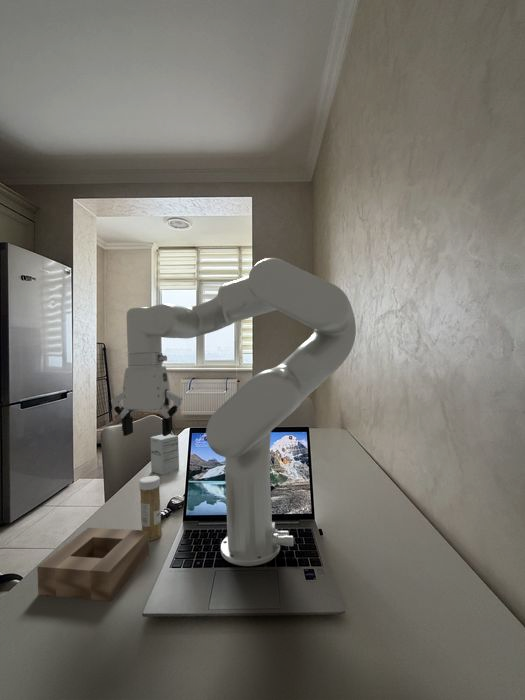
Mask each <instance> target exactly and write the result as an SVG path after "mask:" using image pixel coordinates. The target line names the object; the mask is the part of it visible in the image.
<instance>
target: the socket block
mask: <svg viewBox="0 0 525 700" xmlns="http://www.w3.org/2000/svg"><path fill="white" fill-rule="evenodd" d="M149 555H150V541H149V533H148V531H146V530H142V529H140V530H139V529H123V528H121V529H120V528H106V527H105V528H104V527H103V528H101V527H99V528H98V527H87V528H86V529H85V530H83V531H82V532H81V533H80V534H78V535H77V536H75V537H74V538H73V539H72V540H70V541H69V542H68V543H66V544H65V545H63V547H61V548H60V549H58V551H56V552H54V553H53V554H52V555H50V557H48V558H47V559H46V560H44V561H43V562H41V563H40V564H39V565H38V566H37V567H36V568H37V571H36V572H37V591H38V593H37V595H38V594H39V595H38V596H46V595H49V596H48V597H58V598H59V597H60V598H72V599H80V600H81V599H82V600H95V601H107V602H111V600H112V599H113V598H114V597H115V596H116V595H117V593H118V592H119V591H120V590H121V589H122V588H123V586H124V585H125V584H126V583H127V582H128V580H130V578H131V577H132V576H133V575H134V573H135V572H136V571H137V570H138V569H139V567H141V565H142V564H143V563H144V561H145V560H146V559H147V558H148V557H149Z"/></svg>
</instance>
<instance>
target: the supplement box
mask: <svg viewBox="0 0 525 700" xmlns="http://www.w3.org/2000/svg"><path fill="white" fill-rule="evenodd" d="M179 447H180V446H179V435H175V434H169V435H167V436H163V433H161V434H158V435H153V436H150V464H151V465H150V468H151V469H150V471H151V472H152V473H156V474H158V475H161V476H165V475H169V474H172V473H175V472H177V471H179V470H180V460H179V459H180V453H179V449H180V448H179Z"/></svg>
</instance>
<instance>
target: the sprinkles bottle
mask: <svg viewBox="0 0 525 700" xmlns="http://www.w3.org/2000/svg"><path fill="white" fill-rule="evenodd" d="M138 483H139V490H140V521H141V522H140V523H141V530H146V531H148V533H149V542H150V541H155V540H157V539H159V538H160V537H161V536H162V534H163V532H162V518H161V517H162V516H161V515H162V514H161V512H162V511H161V497H160V487H161V479H160V477H159V476H158V475H148V476H144V477H142V478H140V479H139V481H138Z"/></svg>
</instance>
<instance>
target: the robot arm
mask: <svg viewBox="0 0 525 700" xmlns="http://www.w3.org/2000/svg"><path fill="white" fill-rule="evenodd" d="M217 291H218V292H217V294H216V296H214V298H212V299H210V300H208V301H205V302H202V303H200V304H196V305H194V306H193V305H192V306H190V307H187V306H181V305H177V304H171V303H160V304H155V305H152V306H149V307H148V306H146V307H145V306H141V307H140V306H138V307H137V306H136V307H132V308H130V309H128V310H127V311H126V342H127V343H126V345H127V347H126V348H127V367H125V369H124V375H123V380H122V381H123V382H122V383H123V384H122V392H121V393H120V394H118V395H116V396H115V397H113V398H111V399H110V403H111V405H112V406H113V408H114V411H115V412H116V414H117V415H118V418H120V419H121V428H122V429H121V430H122V434H123V436H125V437H126V436H128V435H131V434H134V426H133V425H134V424H133V423H134V422H133V421H134V419H133V416H131V414H133V412H134V411H159V412H160V413H161V415H162V416H163V418H162V419H161V424H162V425H161V427H162V429H161V430H162V433H161V434H163V436H167V435H169V434H171V433H172V430H173V416H175V414H176V413H177V412H178V411H179V409H180V406H181V404H182V402H183V400H184V399H183V397H181V396H179V395H178V394H176V393H173V392H172V391H171V387H170V380H169V375H168V371H167V367H166V365H164V366H163V364H164V363H163V362H167V361H168V357H167V355H164V354H163V353H162V338H167V339H183V340H184V339H192V338H197V337H200V336H204V335H206V334H210V333H213V332H217V331H219V330H221V329H224V328H226V327H229V326H231V325H233V324H235V323H238V322H240V321H244V320H247V319H251V318H254V317H258V316H262V315H264V314H267V313H270V312H274V311H278V312H281V313H283V314H284V315H286V316H288V317H290V318H292V319H293V320H296V321H298V322H299V323H302V324H303V325H305V326H307V327H310V328H311V329H312V330H313V332H312V333H311V335H310V336H309V338H308V339H307V340H305V341H304V342H302V344H301V345H299V346H298V347H297V348H295V350H294V351H293V352H292V353H291V354H290V355H289V356H288V357H287V358H285V359H284V360H283V361H282V362H281V363H279V364H278V365H277V366H274V367H273V368H269V369H265V370H262V371H261V372H258V373H257V374H255V375H254V376H253V377H251V378H250V379H249V380H248V381H247V382H245V384H243V386H241V387H240V388H239V389H238V390H237V391H236V392H235V393H233V395H232V396H230V397H229V398H228V399H227V400H226V401H225V402H224V403H223V404H222V405H221V406H220V407H219V408H218V409H216V410H215V411H214V413H213V414H211V416H210V418H209V420H208V421H207V425H206V430H205V437H206V441H207V444H208V446H209V447H210V449H211V451H213V453H215V454H217V455H218V456H220V457H222V458H225V462H224V463H225V464H224V465H225V466H224V467H225V468H224V469H225V470H224V473H225V478H224V479H225V502H226V503H225V504H226V528H227V529H226V531H227V533H226V534H227V536H225V538H224V539H223V540H222V541H221V544H220V554H221V556H222V558H223V559H224V560H225V561H227V563H230V564H232V565H236V566H242V567H253V566H254V567H255V566H259V565H263V564H265V563H269V562H270V561H272V560H273V559H275V558H276V557H277V555H278V554H279V553H280V550H281V546H284V547H294V535H289V534H290V533H289V530H278V528H276V522H275V521H273V520H272V515H273V514H272V495H271V493H272V492H271V461H270V460H271V458H270V455H271V454H270V453H271V450H270V449H271V437H272V431H273V430H274V429H275V428H276V427H277V426H279V425H280V424H281V423H282V422H283V421H284V420H286V419H287V417H289V416H290V415H291V414H293V412H295V411H296V409H298V408H299V407H300V406H301V404H302V403H303V402H304V401H305V400H306V398H308V396H310V395H311V394H312V393H313V392H314V391H315V390H316V389H318V388H319V387H320V386H321V385H322V384H323V383H324V382H325V381H326V380H327V379H328V378H329V377H330V376H332V374H334V373H335V372H336V371H337V370H338V369H339V368H340V367H341V366H342V365H343V364H344V362H345V361H346V360H347V358H348V357H349V355H350V353H351V352H352V349H353V347H354V344H355V340H356V334H357V326H356V324H357V323H356V318H355V315H354V310H353V307H352V305H351V301H350V300H349V297H348V296H347V294H346V292H344V291H343V290H342V289H341V288H340V287H339V286H337V285H336V284H333V282H329V281H327V280H325V279H323V278H320V277H319V276H318V275H317V276H316V275H315V274H312V273H310V272H308V271H306V270H304V269H302V268H300V267H297V266H296V265H293V264H291V263H289V262H287V261H285V260H283V259H281V258H277V257H268V258H264V259H260V261H258V262H256V263H255V265H253V267H251V269H250V271H249V274H248V276H244V277H241V278H239V279H235V280H233V281H229V282H226V283H223V284H221V285H220V286H219V288H218V290H217ZM121 401H122V405H121ZM171 401H172V402H173V404H172V406H171ZM170 406H171V407H170ZM171 435H172V434H171Z"/></svg>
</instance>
